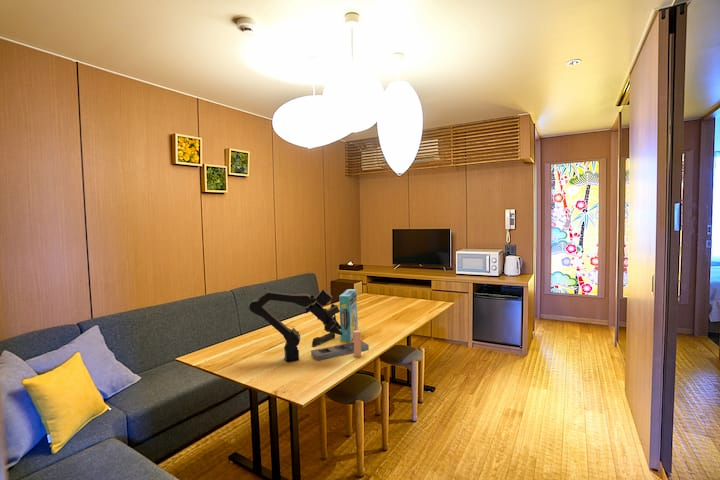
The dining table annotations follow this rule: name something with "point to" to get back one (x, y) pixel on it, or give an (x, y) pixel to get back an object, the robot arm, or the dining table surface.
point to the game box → (348, 314)
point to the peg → (357, 343)
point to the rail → (336, 350)
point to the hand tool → (322, 339)
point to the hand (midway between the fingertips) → (341, 331)
